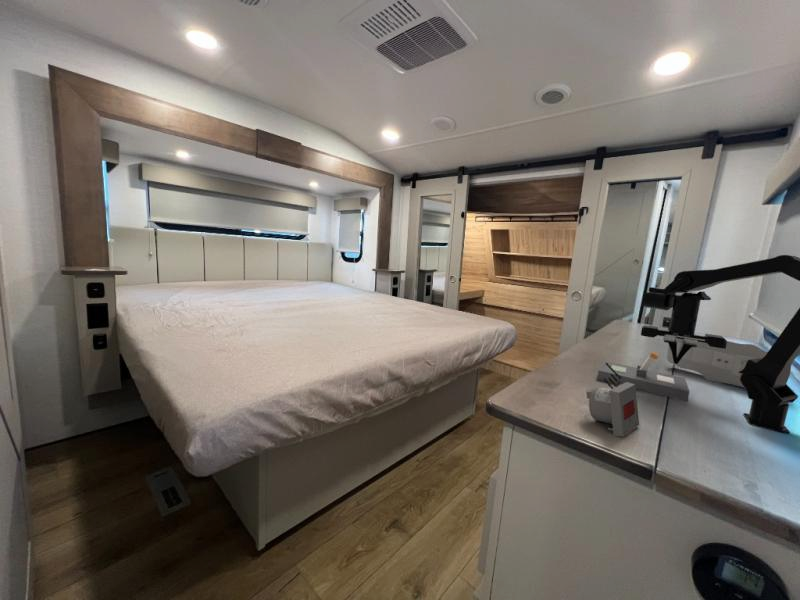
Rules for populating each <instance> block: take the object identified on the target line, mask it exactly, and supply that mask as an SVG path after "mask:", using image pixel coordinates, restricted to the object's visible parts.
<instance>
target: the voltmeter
mask: <svg viewBox="0 0 800 600" xmlns="http://www.w3.org/2000/svg"><path fill="white" fill-rule="evenodd" d="M606 365H607V366H608V367H609V368H610V369H611V370H612V371H613V372H614V373H615V374H616V376H617V377H618V373H616V372H615V370H614V369H613V368H611V367H610V366H609V365H608V364H607V363H606ZM611 376H612V377H613V378H614V379H615V381H616V382H618V380H617V379H616V378H615V377H614V376H613V375H612V373H611ZM608 379H609V380H610V381H611V382H612V383H611V382H608V381H607V380H606V379H605V378H604V380H605V381H604V382H606V383H607V386H608V387H610V388H606V387H605V388H604V387H598V386H595V387H594V388H592V389H588V391H587V390H586V399H588V408H589V413H590V417H591V418H592V419H593V420H594V421H600V422H603V423H608V424H612V428H610V427H607V430H608V431H613V436H614V437H625V436H627V434H629V433H630V432H632V431H633V430H634V429H636V428H637V427H639V426H640V419H639V410H638V399H637V398H638V396H637V389H636V387H635V384H632V383H628V382H626V383H624V384H622V385H619V383H620V381H619V382H618V384H615V383H614V382H613V381H612V379H611V378H610V377H609V378H608ZM619 379H621V376H620V375H619ZM610 383H611V384H612V385H613V386H614V387H613V386H612V385H611V384H610Z"/></svg>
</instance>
